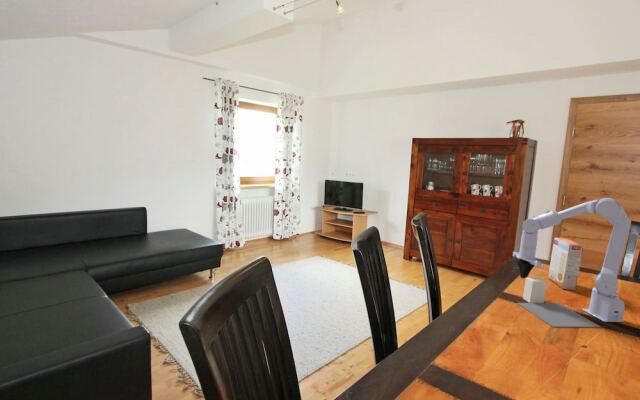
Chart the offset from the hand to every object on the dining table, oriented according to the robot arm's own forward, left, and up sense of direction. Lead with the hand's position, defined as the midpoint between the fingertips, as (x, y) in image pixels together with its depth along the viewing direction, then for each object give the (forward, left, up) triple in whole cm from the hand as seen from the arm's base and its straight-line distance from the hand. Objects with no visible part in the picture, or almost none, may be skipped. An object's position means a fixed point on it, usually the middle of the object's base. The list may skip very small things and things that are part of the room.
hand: (523, 277), depth 142 cm
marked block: (-7, 0, -7) cm, 10 cm away
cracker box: (+11, -28, -7) cm, 31 cm away
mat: (-19, 0, -7) cm, 20 cm away
